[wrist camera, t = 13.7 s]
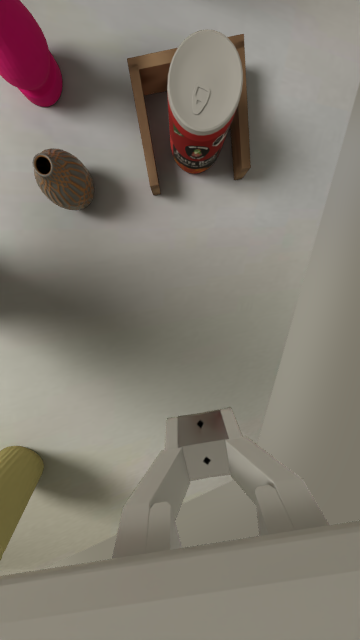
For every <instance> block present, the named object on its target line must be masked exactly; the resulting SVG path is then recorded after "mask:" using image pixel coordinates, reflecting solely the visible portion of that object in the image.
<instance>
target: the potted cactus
mask: <svg viewBox="0 0 360 640" xmlns="http://www.w3.org/2000/svg"><path fill="white" fill-rule="evenodd" d="M43 469H44V464H43V461H42V459H41V457H40V456H39V455H38V454H37V453H35V452H34V451H32V450H30V449H28V448H25V447H21V446H11V447H7V448H4V449H3V450H1V451H0V560H1V558H2V554H3V553H4V551H5V549H6V547H7V545H8V543H9V541H10V539H11V537H12V535H13V532H14V530H15V528H16V526H17V524H18V522H19V520H20V518H21V516H22V514H23V512H24V510H25V508H26V506H27V504H28V501H29V499H30V497H31V495H32V493H33V491H34V489H35V487H36V485H37V483H38V481H39V479H40V477H41V475H42V473H43Z"/></svg>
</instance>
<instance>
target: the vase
mask: <svg viewBox="0 0 360 640" xmlns="http://www.w3.org/2000/svg"><path fill="white" fill-rule="evenodd" d="M33 167H34V175H35V179H36V181H37V184H38V186H39V187H40V189H41V190H42V192H43V193H44V194H45V195H46V196H47V197H48V198H49V199H50V200H51V201H52V202H53V203H55V204H56V205H58V206H60V207H62V208H65V209H69V210H80V209H83V208H85V207H87V206H88V205H89V204H90V203H91V201H92V199H93V195H94V185H93V181H92V178H91V175H90V173H89V172H88V170H87V169H86V167H85V166H84V165H83V164H82V162H81V161H80V160H78V159H77V158H76V157H75V156H73V155H72V154H70V153H68V152H66V151H63V150H60V149H47V150H44V151H42V152H41V153H39V154H37V155H35V157H34V159H33Z"/></svg>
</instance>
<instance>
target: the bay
mask: <svg viewBox="0 0 360 640" xmlns="http://www.w3.org/2000/svg"><path fill="white" fill-rule="evenodd" d="M227 38H228V39H229V40H230V41H231V42H232V43H233V44H234V46H235V48H236V50H237V51H238V54H239V57H240V60H241V63H242V69H243V85H242V92H241V96H240V100H239V103H238V106H237V109H236V112H235V115H234V117H233V120H232V122H231V125H230V130H231V144H232V157H233V171H234V180H238V179H242V178H243V177H244V175H245V174H246V173H247V171H248V170H249V169H250V168H251V165H250V146H249V127H248V108H247V89H246V70H245V51H244V34H240V35H236V36H231V37H227ZM177 49H178V48H175V49H170V50H165V51H161V52H156V53H151V54H146V55H142V56H137V57H132V58H128V59H127V62H128V67H129V72H130V78H131V83H132V89H133V94H134V100H135V105H136V111H137V116H138V122H139V127H140V133H141V138H142V144H143V149H144V155H145V160H146V166H147V171H148V177H149V182H150V187H151V190H152V193H153V195H158V194H161V193H160V187H159V181H158V175H157V169H156V163H155V157H154V151H153V146H152V140H151V134H150V128H149V122H148V116H147V110H146V105H145V99H144V95H149V94H154V93H159V92H164V91H167V85H168V73H169V68H170V64H171V61H172V59H173V56H174V54H175V52H176V50H177Z"/></svg>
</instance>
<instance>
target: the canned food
mask: <svg viewBox="0 0 360 640" xmlns="http://www.w3.org/2000/svg"><path fill="white" fill-rule="evenodd" d="M242 85H243V69H242V63H241V60H240V57H239V54H238V51H237V50H236V48H235V46H234V44H233V43H232V42H231V41H230V40H229V39H228V38H227V37H226V36H225V35H223V34H222V33H220V32H217V31H215V30H201V31H198V32H195V33H193V34H191V35H190V36H189V37H187V38H186V39H185V40H184V41H183V42H182V43H181V45H180V46H179V47H178V49H177V50H176V52H175V54H174V56H173V59H172V61H171V64H170V68H169V73H168V85H167V94H168V113H169V128H170V143H171V151H172V155H173V157H174V159H175V161H176V163H177V164H178V165H179V166H180V167H181V168H182V169H183V170H184V171H186V172H188V173H193V174H196V173H201V172H203V171H205V170H207V169H208V168H210V167H211V166H212V165H213V164H214V162H215V161H216V159H217V157H218V155H219V153H220V150H221V148H222V145H223V143H224V140H225V138H226V135H227V132H228V130H229V127H230V125H231V122H232V120H233V117H234V115H235V112H236V109H237V106H238V103H239V100H240V96H241V92H242Z"/></svg>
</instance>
